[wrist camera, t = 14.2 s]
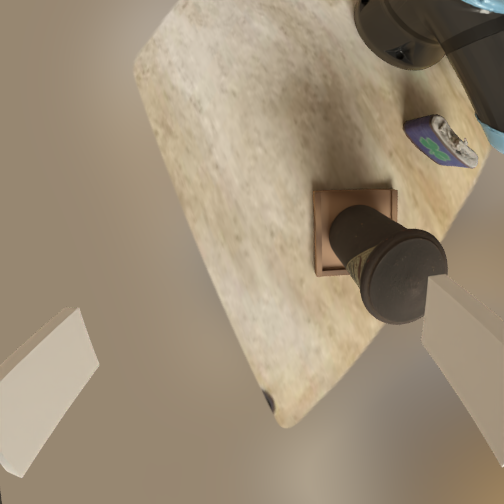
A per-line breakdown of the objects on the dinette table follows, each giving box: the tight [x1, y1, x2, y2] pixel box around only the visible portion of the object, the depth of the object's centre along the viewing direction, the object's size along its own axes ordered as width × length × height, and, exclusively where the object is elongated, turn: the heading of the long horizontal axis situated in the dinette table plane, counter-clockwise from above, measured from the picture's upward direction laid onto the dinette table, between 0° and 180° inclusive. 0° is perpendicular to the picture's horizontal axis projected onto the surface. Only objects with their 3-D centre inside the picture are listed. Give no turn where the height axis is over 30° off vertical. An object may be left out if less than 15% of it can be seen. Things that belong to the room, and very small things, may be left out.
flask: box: [403, 114, 478, 168], centre depth 36 cm, size 9×3×11 cm, turn 56°
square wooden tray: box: [313, 189, 398, 277], centre depth 44 cm, size 12×12×2 cm
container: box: [329, 205, 448, 325], centre depth 34 cm, size 9×9×20 cm
